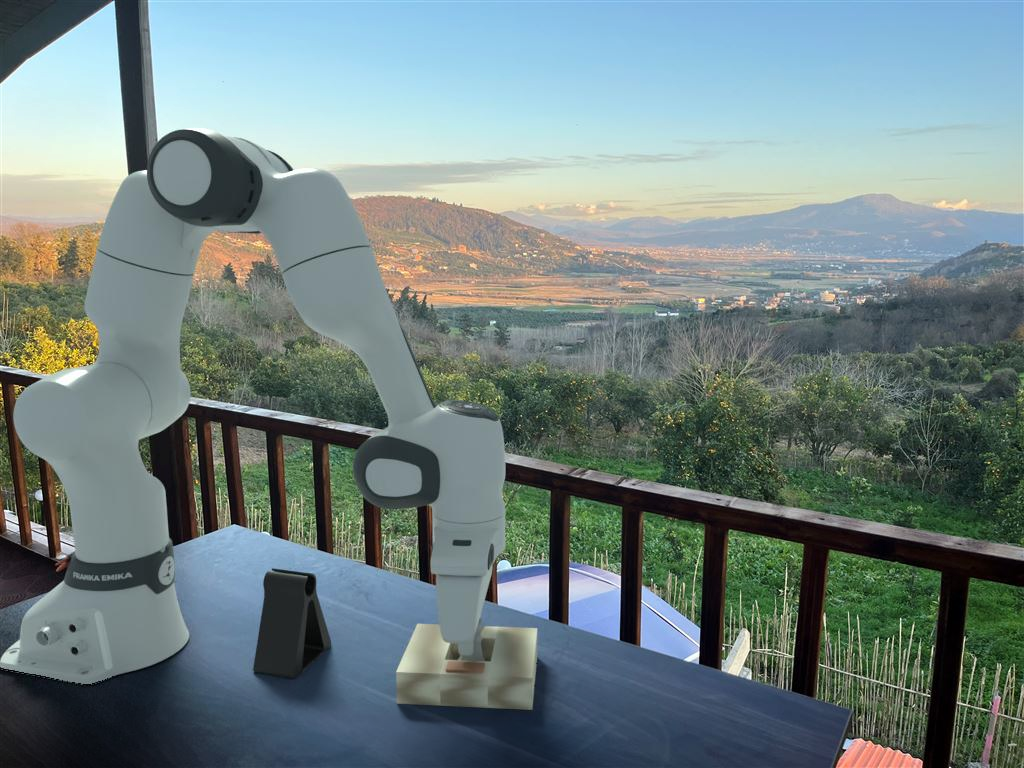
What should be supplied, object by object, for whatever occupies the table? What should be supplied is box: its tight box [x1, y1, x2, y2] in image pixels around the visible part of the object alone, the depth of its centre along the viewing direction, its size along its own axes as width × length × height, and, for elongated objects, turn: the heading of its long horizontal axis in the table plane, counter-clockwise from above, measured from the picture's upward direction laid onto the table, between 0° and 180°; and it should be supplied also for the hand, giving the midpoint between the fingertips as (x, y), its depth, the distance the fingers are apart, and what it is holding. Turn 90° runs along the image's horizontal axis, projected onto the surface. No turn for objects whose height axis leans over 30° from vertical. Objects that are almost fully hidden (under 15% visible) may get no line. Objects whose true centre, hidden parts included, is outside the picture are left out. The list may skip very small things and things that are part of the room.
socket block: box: [395, 623, 538, 711], centre depth 91 cm, size 16×12×4 cm
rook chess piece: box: [458, 617, 485, 661], centre depth 91 cm, size 4×4×8 cm
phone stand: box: [252, 567, 332, 680], centre depth 95 cm, size 9×6×12 cm, turn 163°
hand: (469, 641), depth 91 cm, fingers open, 4 cm apart
